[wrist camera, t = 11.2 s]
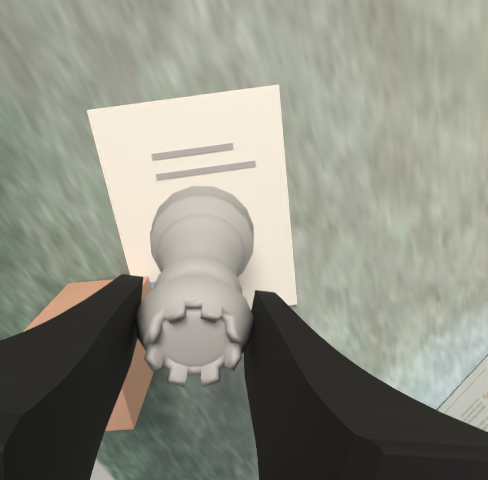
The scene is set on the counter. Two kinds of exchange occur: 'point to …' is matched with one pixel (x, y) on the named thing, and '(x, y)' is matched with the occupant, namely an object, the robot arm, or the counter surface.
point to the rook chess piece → (197, 286)
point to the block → (139, 369)
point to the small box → (470, 399)
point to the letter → (201, 173)
